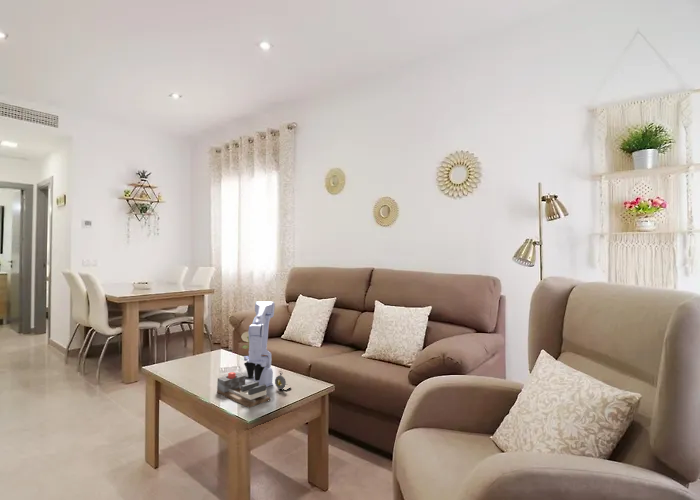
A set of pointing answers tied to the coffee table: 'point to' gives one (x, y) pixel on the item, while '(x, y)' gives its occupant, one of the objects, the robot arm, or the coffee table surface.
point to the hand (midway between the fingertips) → (254, 378)
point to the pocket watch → (280, 381)
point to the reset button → (231, 375)
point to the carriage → (253, 390)
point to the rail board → (237, 390)
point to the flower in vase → (245, 338)
